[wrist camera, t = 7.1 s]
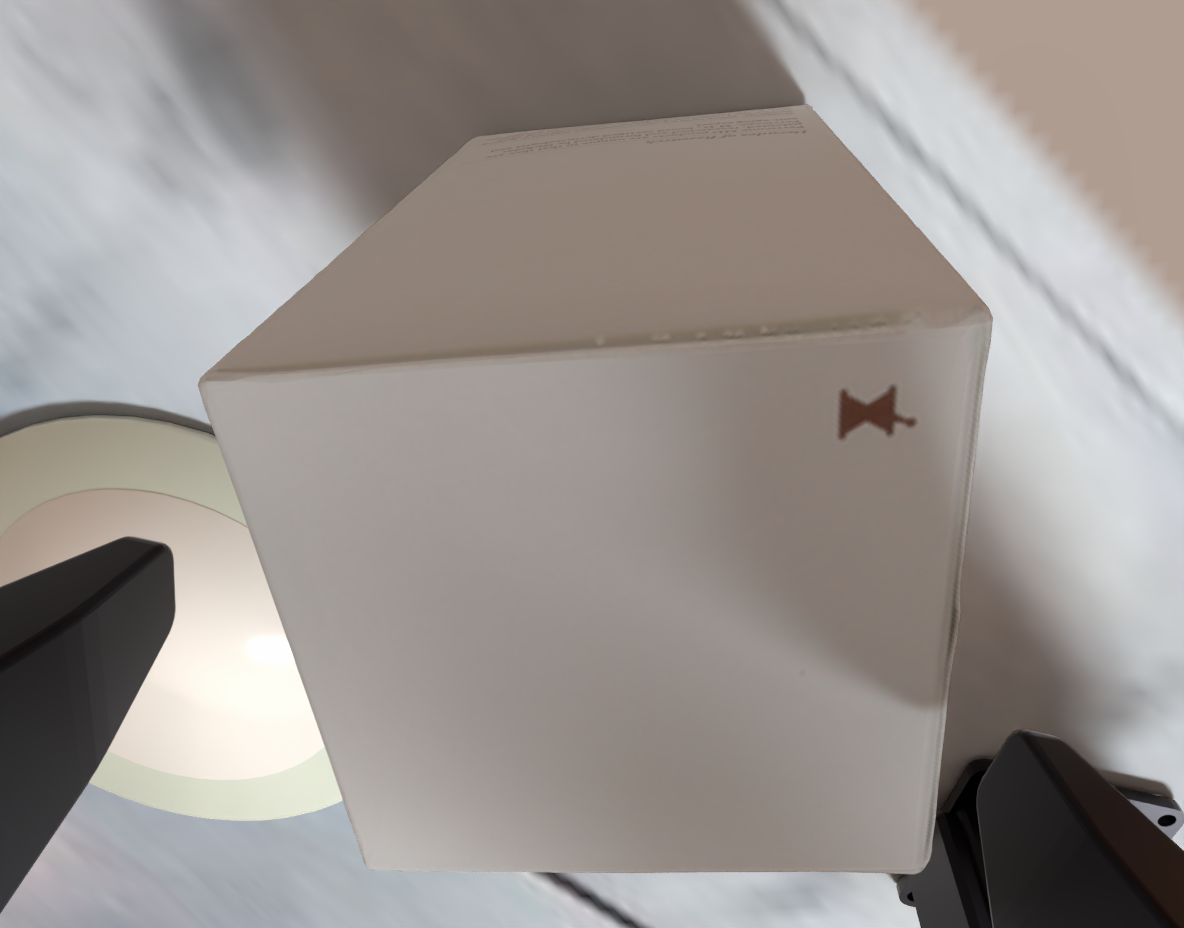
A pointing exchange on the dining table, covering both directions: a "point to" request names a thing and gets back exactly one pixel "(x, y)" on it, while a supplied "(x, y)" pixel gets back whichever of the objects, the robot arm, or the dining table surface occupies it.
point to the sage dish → (202, 619)
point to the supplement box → (623, 504)
